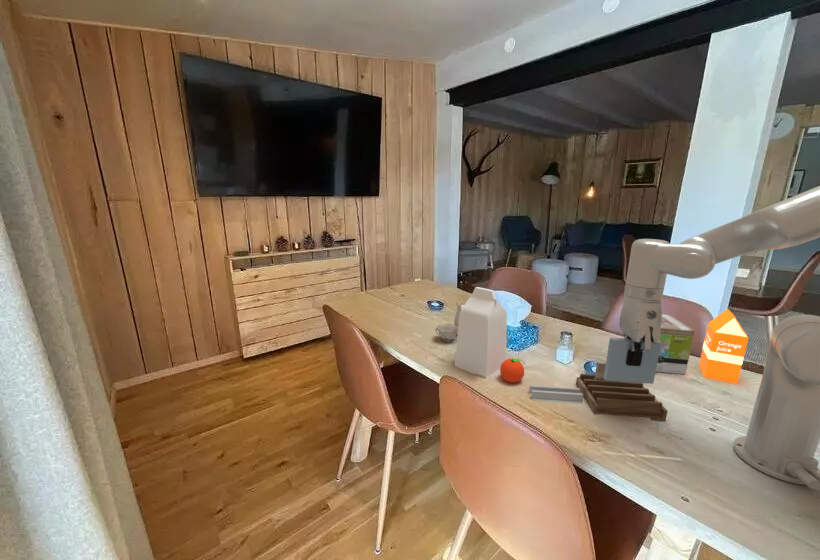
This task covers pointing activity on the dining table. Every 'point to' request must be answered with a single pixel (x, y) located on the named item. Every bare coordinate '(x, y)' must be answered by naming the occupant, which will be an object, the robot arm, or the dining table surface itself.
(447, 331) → the chinaware
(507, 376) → the clementine
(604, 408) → the rack
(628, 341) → the grey upright panel
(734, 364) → the orange juice
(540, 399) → the stand
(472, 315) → the milk
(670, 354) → the tea box
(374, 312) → the dining table surface
